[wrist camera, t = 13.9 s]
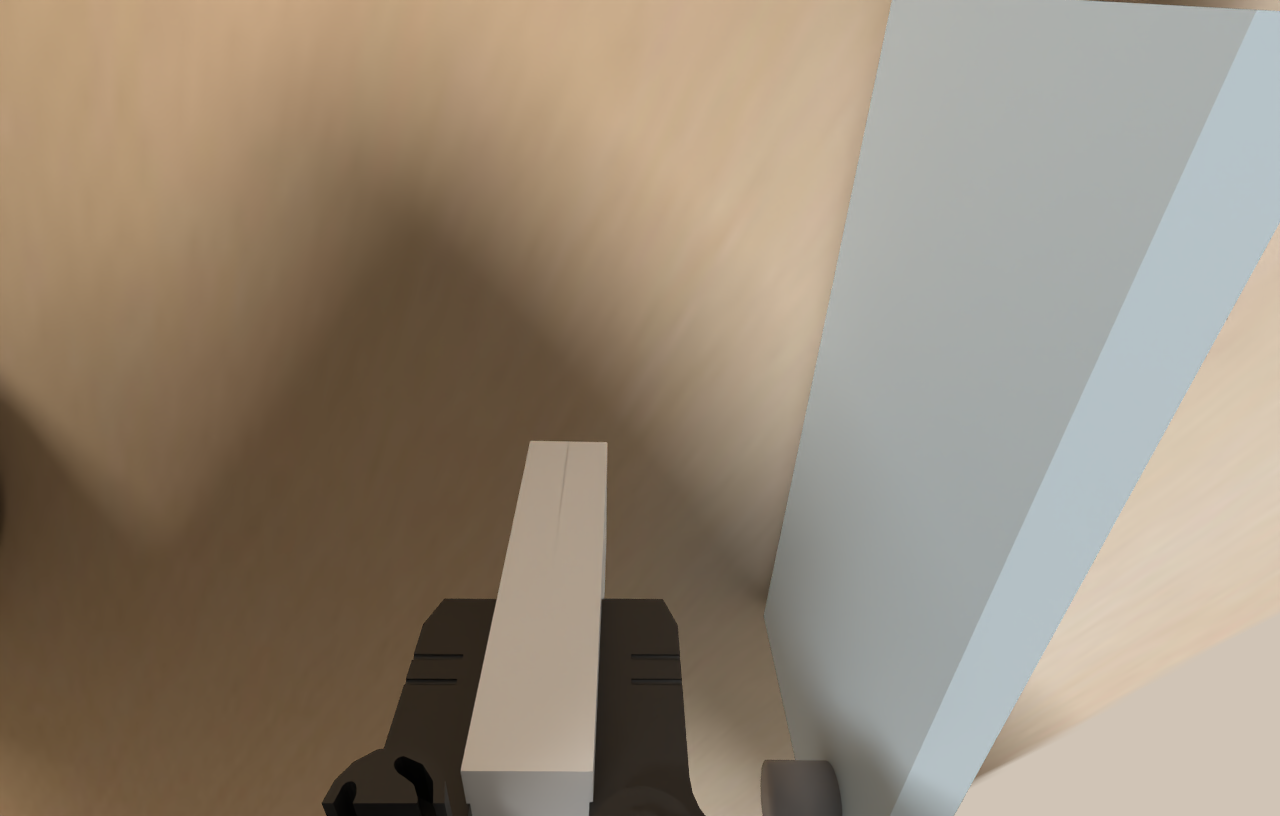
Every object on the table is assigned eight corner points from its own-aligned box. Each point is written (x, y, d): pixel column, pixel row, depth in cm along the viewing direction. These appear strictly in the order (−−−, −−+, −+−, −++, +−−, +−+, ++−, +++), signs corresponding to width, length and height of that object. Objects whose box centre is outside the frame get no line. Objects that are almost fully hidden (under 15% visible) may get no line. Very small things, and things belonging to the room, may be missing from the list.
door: (822, -14, 11) (1092, 1, 5) (953, -8, 11) (1392, 16, 5) (720, 615, 19) (770, 937, 13) (798, 616, 19) (887, 937, 13)
